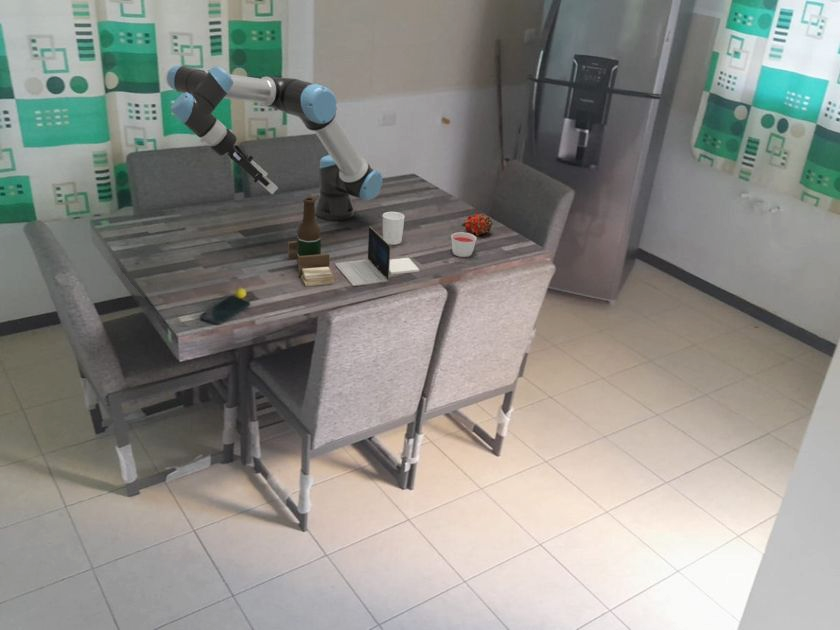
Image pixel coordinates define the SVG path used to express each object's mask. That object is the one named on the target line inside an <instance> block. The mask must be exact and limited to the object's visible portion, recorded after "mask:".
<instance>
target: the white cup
mask: <svg viewBox="0 0 840 630" xmlns="http://www.w3.org/2000/svg"><path fill="white" fill-rule="evenodd" d="M404 223H405V215H404V213H402V212H397V211H387V212H384V213H383V214H382V238H383V239H384V240H385V241H386V242H387V243H388V244H389V245H390V246H391V245H393V246H394V245H395V246H396V245H399V244H402V241H403V232H404Z"/></svg>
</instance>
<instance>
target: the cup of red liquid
mask: <svg viewBox="0 0 840 630" xmlns="http://www.w3.org/2000/svg"><path fill="white" fill-rule="evenodd" d="M450 238H451V248H452V249H451V250H452V254H453V255H454V256H457V257H460V258H466V257H467V258H469V257H470V256H472V255H473V252H474V248H475V246H476V242H477V236H476V235H474V233H473V234H471V233H468V232H465V231H464V232H463V231H462V232H461V231H459V232H455V233H452V234H451V236H450Z"/></svg>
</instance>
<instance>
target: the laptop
mask: <svg viewBox="0 0 840 630" xmlns="http://www.w3.org/2000/svg"><path fill="white" fill-rule="evenodd" d="M367 243H368V245H367V246H368V247H367V258H366V259H359V260H358V259H357V260H349V261H341V262H335V263H334V265H335V267H337V269H338V270H339V271H340V272H341V273H342V275H343V276H344V277H345V278H346V279H347V281H348V282H349V283H350V284H351V286H352V287H356V286H357V287H358V286H367V285H369V286H370V285H376V284H385V283H388V282H389V281H390V272H389V267H390V260H391V244H388V243H387V242H386V241H385V240H384V239H383V236H381V235H380V234H379V233H378V232H377V231H376V230H375V229H374V228H373V227H371V226H370V225H369V226H368V242H367Z"/></svg>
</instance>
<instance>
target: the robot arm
mask: <svg viewBox="0 0 840 630" xmlns="http://www.w3.org/2000/svg"><path fill="white" fill-rule="evenodd" d="M166 81H167V84H168V86H169V87H170V88H171V89H172V90H173V91H176V92H177V93H181V94H180V95H179V96H178V97H177V98H176V99H175V100H174V102H173V103H172V105H171V108H170V110H171V113H172V114H173V115H174V116H175V117H176V118H177V119H178V120H179V122H180V123H181V124H183V125H184V126H186V127H187V128H188V129H189V130H190V131H191V132H193V133H194V134H195V135H196V137H198V138H199V139H200V141H199V142H201V143H205V144H206V145H207V146H209V147H210V148H211V150H213V152H215V153H216V154H217V155H218V156H224V155H225V154H227V156H229V158H230V159H231V160H232V161H234V162H235V163H236V164H237V165H238V166H240V167H241V168H243V169H244V171H246V173H247V174H249V175H250V176H251V177H252V178H253V179H254V180H253V182H254V183H259V184H260V185H261V186H262V187H263V188H264V189H265V190H266V191H268V192H269V193H270V194H271V195H274V193H275V192H276V191H277V190H278V189H279V187H278V186H277V185H276V184H275V183H274V182H272V180H270V178H268V177H267V176H268V175H269V174H268V172H267V171H266V170H264V169H263V168H262V167H261V166H260V165H259V164H258V163H256V162H255V161H254V160H253V159H254V157H253V156H252V155H250V156H249V155H248V154H247V153H246V152H244V150H243V149H241V147H240V146H239V145H237V144H236V142H237V136H236V135H235V134H234V133H233V132H232V131H231V130H230V129H228V128H227V126H225V125H224V124H223V123H222V122H221V121H220V120H219V118H217V117H216V116H214V115H213V113H214V112H215V110H216V109H217V107H218V106H219V104H220V103H221V102H222V101H223V100H224V99H228V100H236V101H244V102H251V103H259V105H261V106H262V107H266V108H267V107H268V108H272V109H275V110H278V111H281V112H283V113H285V114H289V115H292V116H295V117H297V118H299V119H300V120H301V121H302V123H303V125H304V126H305V127H306V128H307V130H308V131H310V132H311V131H312V132H314V133H315V134H316V137H317V138H318V139H319V141H320V142H321V143H322V146H323V147H324V149H325V150H326V151H327V153H328V154H327V155H325V156H322V157H321V158H320V160H319V195H318V197H317V200H316V203H315V205H314V212H315V217H317V218H319V219H322V220H323V219H324V220H328V221H344V220H348V219H351V218H352V217H353V216H354V214H355V208H354V205H353V201H352V199H351V198H352V197H351V196H353V197H355V198H359V199H360V200H362V201H363V200H364V201H368V202H369V201H372V200H374V199H375V198H377V196H378V195H379V193H381V189H382V185H383V175H382V173H381V172H380V171H379V170H377V169H374V168H372V167H371V165H370V164H369V161H368V160H366V158H364V157H362V156H359V154H358V152H357V150H356V148H355V147H354V146H353V144H352V142H351V141H350V139H349V137H348V136H347V134H346V133H345V131H344V129H343V127H342V126H341V124H340V123H339V121H338V120H337V118H336V116H337V108H338V107H337V104H338V102H337V99H336V96H335V93H333V91H332V90H330V88H328V87H325V86H323V85H321V84H317V83H312V82H309V81H304V80H301V79H299V78H298V79H297V78H289V77H273V76H262V77H261V78H259V77H251V76H245V75H238V74H232V73H228V72H227V71H226V70H225V69H223V68H222V67H219V66H213V67H212V68H210V69H209V70H204V69H198V68H191V67H187V66H185V65H177V64H175V65H173V66H172V67H170V69H169V70H168V72H167V75H166Z"/></svg>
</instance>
